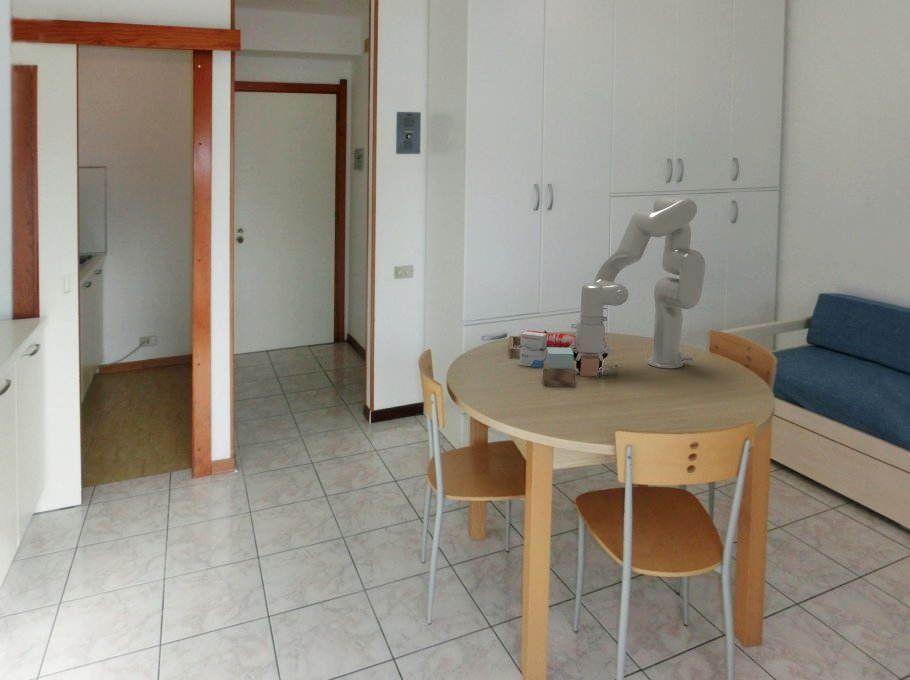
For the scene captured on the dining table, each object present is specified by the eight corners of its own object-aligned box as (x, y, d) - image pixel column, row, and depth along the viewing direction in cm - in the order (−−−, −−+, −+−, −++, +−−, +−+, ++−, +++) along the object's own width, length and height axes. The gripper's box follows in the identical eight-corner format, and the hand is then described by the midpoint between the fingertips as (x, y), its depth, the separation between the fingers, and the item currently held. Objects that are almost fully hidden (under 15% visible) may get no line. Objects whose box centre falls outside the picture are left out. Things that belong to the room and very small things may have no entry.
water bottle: (526, 328, 284) (589, 333, 276) (524, 348, 285) (587, 354, 277) (518, 329, 273) (584, 335, 265) (517, 350, 273) (582, 357, 265)
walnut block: (572, 378, 242) (573, 361, 241) (574, 387, 233) (575, 369, 231) (542, 377, 243) (543, 360, 242) (544, 386, 233) (544, 369, 232)
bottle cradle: (592, 346, 282) (592, 337, 281) (598, 360, 263) (598, 350, 262) (509, 344, 284) (509, 335, 283) (509, 358, 265) (509, 348, 264)
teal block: (570, 361, 240) (570, 347, 239) (572, 368, 232) (573, 354, 231) (546, 361, 240) (546, 347, 239) (548, 368, 233) (548, 353, 231)
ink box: (546, 364, 257) (547, 333, 254) (541, 368, 253) (543, 336, 250) (523, 361, 261) (524, 330, 258) (519, 365, 256) (520, 333, 254)
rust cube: (596, 371, 250) (597, 354, 248) (598, 376, 244) (599, 359, 242) (579, 370, 250) (579, 354, 248) (580, 375, 244) (581, 359, 243)
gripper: (615, 318, 245) (612, 368, 250) (565, 317, 246) (562, 367, 251) (618, 323, 238) (615, 374, 242) (566, 322, 239) (564, 373, 244)
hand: (588, 370), depth 247 cm, fingers closed on rust cube, 6 cm apart
